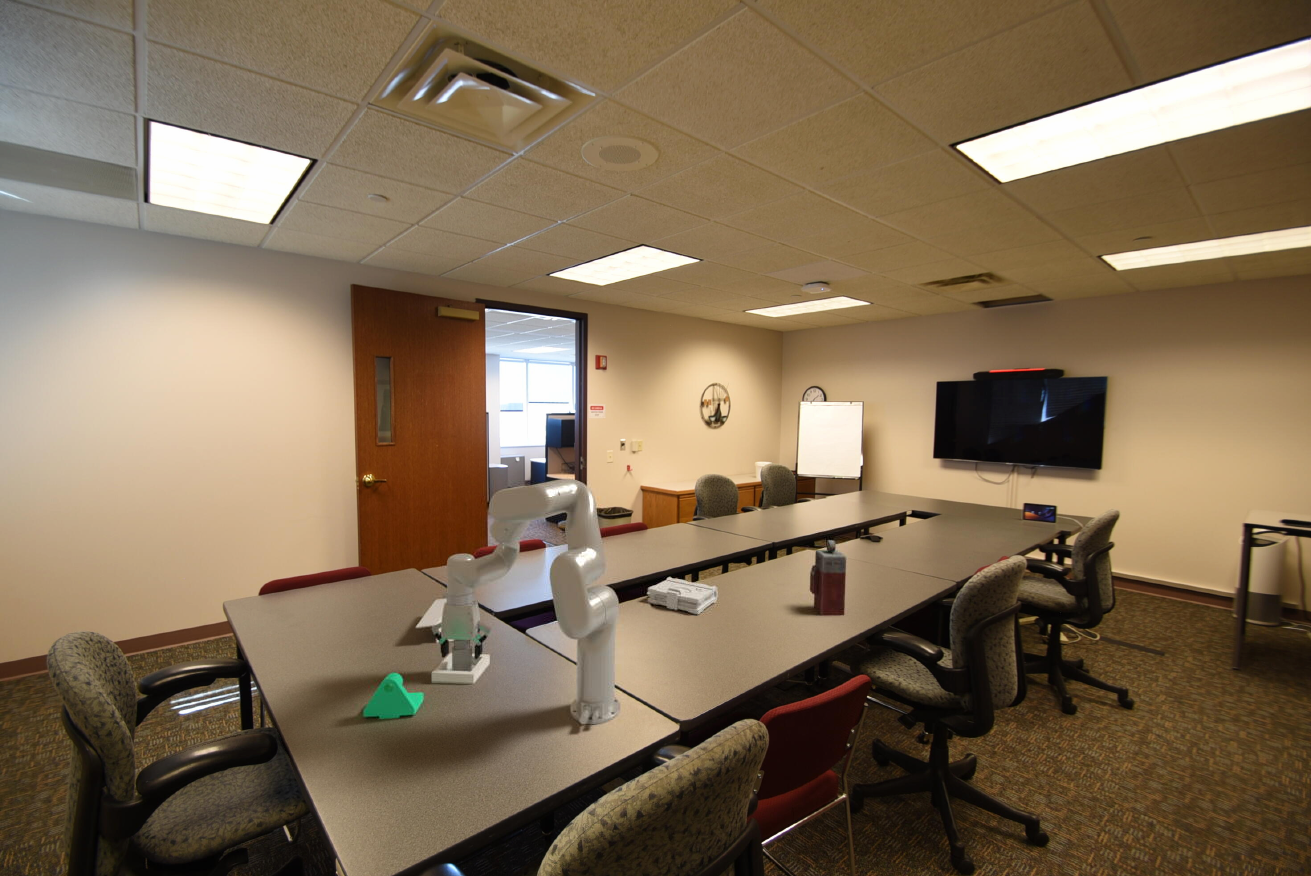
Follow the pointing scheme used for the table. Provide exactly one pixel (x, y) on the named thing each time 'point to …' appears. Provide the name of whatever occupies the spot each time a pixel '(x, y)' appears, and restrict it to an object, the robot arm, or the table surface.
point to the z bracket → (433, 616)
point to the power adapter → (462, 655)
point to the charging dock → (446, 674)
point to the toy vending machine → (829, 581)
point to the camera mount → (392, 699)
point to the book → (683, 595)
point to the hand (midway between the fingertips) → (461, 656)
